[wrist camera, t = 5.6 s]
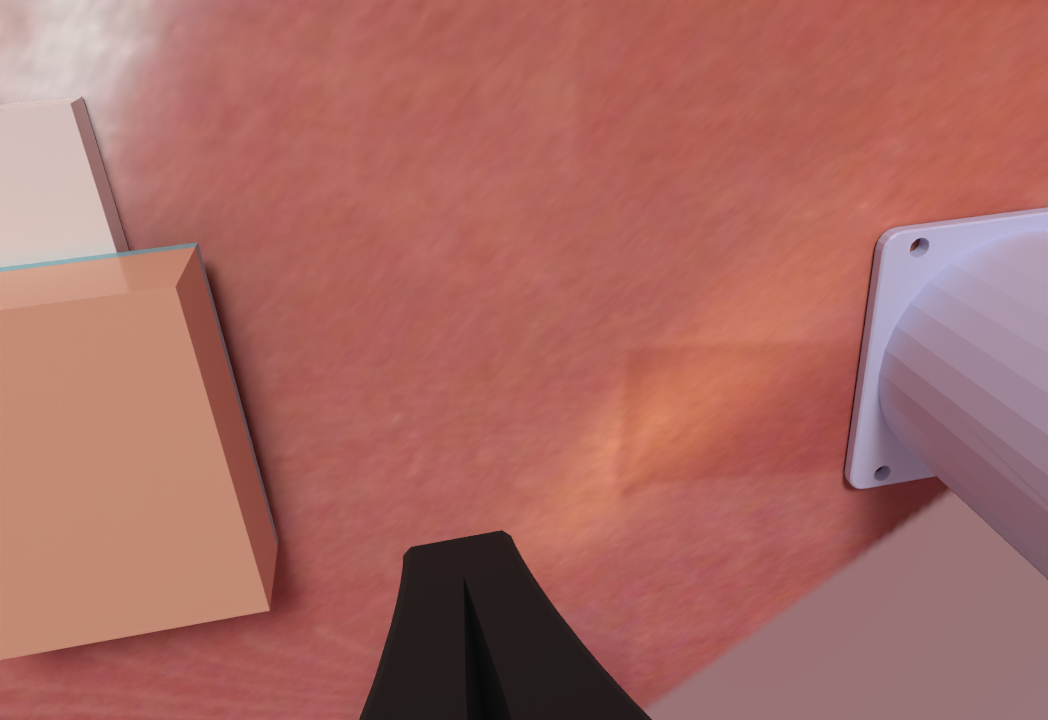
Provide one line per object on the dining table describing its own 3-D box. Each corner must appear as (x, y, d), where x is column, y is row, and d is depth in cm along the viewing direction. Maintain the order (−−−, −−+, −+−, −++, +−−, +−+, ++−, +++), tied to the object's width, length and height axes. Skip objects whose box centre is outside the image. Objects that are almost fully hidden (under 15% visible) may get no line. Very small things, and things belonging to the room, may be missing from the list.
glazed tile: (175, 286, 15) (-244, 342, 14) (269, 610, 19) (-59, 670, 18) (197, 242, 17) (-165, 288, 17) (278, 540, 21) (-15, 591, 20)
